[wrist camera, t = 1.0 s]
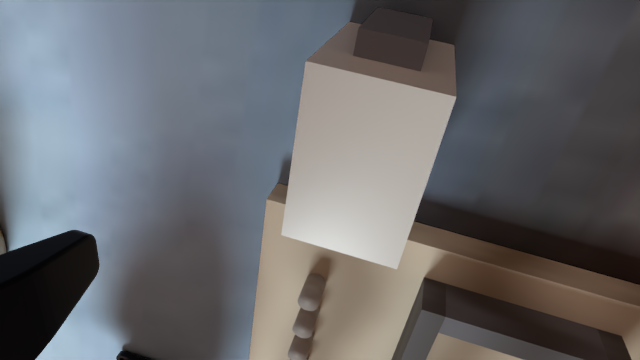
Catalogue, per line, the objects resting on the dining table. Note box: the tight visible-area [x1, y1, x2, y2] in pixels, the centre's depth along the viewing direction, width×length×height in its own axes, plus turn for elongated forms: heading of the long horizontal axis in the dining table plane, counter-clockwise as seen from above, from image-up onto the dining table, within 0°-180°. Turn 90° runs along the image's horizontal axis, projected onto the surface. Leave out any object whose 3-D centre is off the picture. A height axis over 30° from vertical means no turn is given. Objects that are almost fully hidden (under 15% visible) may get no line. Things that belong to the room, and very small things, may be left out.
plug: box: [281, 7, 456, 269], centre depth 15 cm, size 4×7×6 cm, turn 171°
